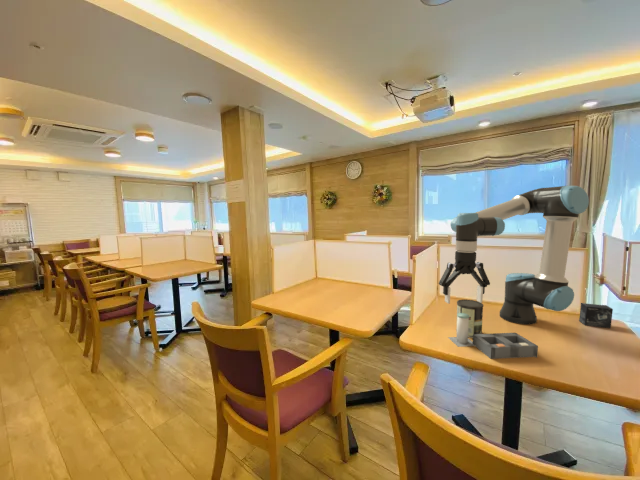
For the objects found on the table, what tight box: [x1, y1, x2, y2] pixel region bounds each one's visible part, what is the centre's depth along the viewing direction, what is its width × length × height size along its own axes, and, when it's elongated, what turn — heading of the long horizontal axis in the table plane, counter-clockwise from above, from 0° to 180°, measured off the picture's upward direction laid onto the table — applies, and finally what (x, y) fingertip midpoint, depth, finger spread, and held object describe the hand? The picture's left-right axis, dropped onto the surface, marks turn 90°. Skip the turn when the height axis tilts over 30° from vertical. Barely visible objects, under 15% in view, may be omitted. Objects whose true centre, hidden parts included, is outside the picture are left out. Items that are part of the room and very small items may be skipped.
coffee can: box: [455, 299, 484, 339], centre depth 120 cm, size 10×10×14 cm
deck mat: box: [447, 336, 475, 348], centre depth 113 cm, size 8×8×1 cm
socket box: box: [472, 332, 539, 360], centre depth 105 cm, size 18×11×5 cm, turn 93°
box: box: [578, 302, 614, 329], centre depth 126 cm, size 9×6×10 cm, turn 68°
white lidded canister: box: [456, 313, 469, 344], centre depth 112 cm, size 4×4×12 cm
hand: (463, 302), depth 111 cm, fingers open, 13 cm apart
